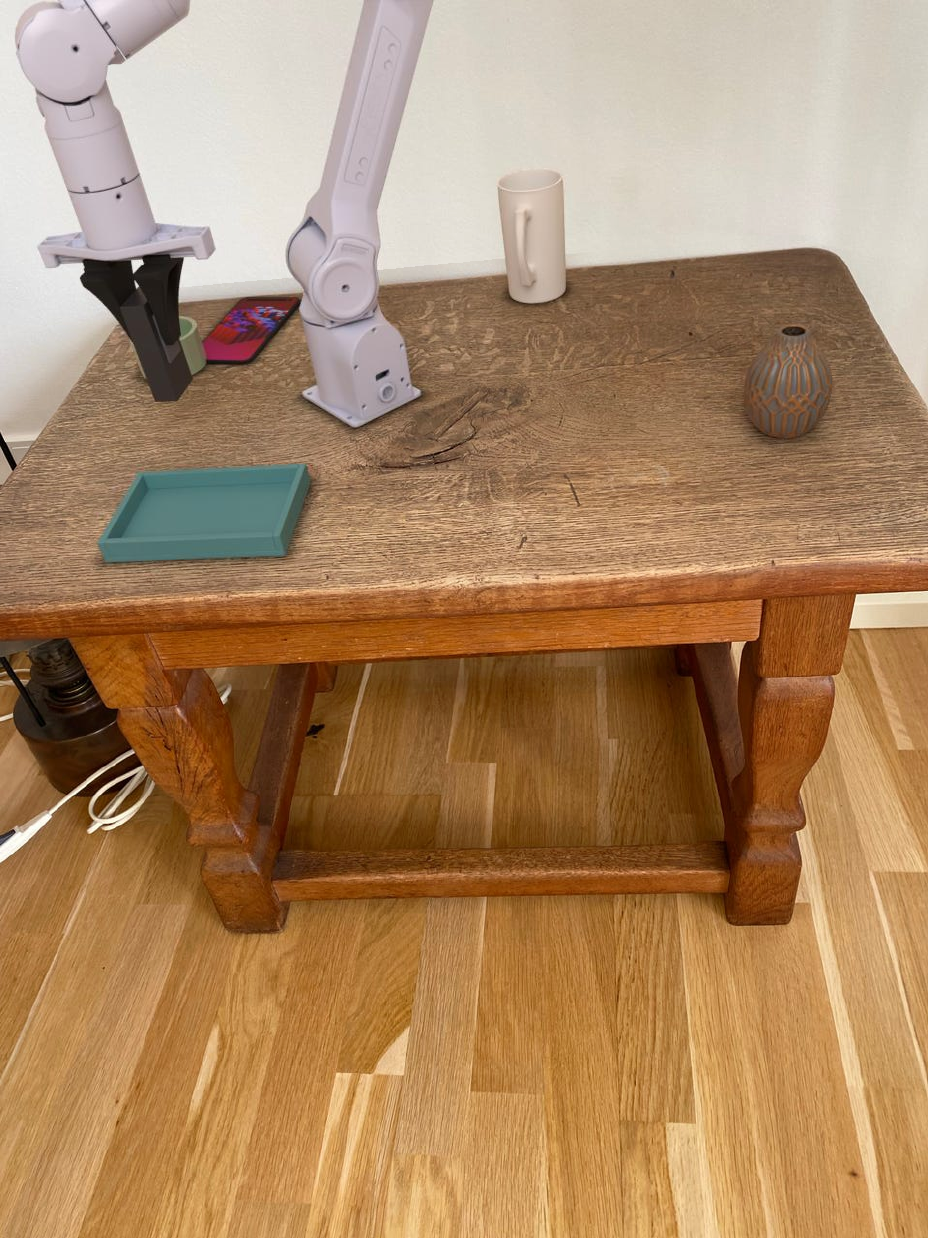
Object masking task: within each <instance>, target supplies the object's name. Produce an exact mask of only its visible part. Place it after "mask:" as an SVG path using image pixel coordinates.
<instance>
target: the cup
mask: <svg viewBox="0 0 928 1238" xmlns="http://www.w3.org/2000/svg"><path fill="white" fill-rule="evenodd" d="M179 322H180V331H181V336H180V337H179V339H180V342H181V345H182V348H183V351H184V354H185V357H186V360H187V363H188V366H189V369H190V372H191V374H192V376H193V375H195V374H197V373H199V372H200V371H202V369H204V368H205V366H206V365H207V364H206V358H207V356H206V352H205V348H204V345H203V339H202V336H201V332H200V330H199V326H198V324H197V321H196V320H195V319H193V318H192V317H189V316H183V315H179ZM129 343H130V346H131V349H132V351H133V354H134V357H135V360H136V364H137V365H138V368H139V371H140V373H141V375H142V377H143V378H144V379H145V380H147V379H146V376H145V374H144V371H143V368H142V365H141V363H140V360H139V357H138V355H137V352H136V349H135V347H134V345H133V343H132V341H131V340H130V339H129Z"/></svg>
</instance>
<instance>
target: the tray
mask: <svg viewBox="0 0 928 1238" xmlns="http://www.w3.org/2000/svg"><path fill="white" fill-rule="evenodd" d="M310 477H311V476H310V473H309V469H308V465H307V463H306V462H305V463H286V464H285V463H284V464H267V465H248V466H246V465H245V466H229V467H227V466H226V467H210V468H209V467H208V468H207V467H206V468H189V469H188V468H187V469H168V470H149V471H148V470H147V471H138V472H137V474H136V475H135V477H134V478H133V481H132V482H131V485H130V486H129V488H128V490H127V491H126V493H125V494H124V496H123V498H122V500H121V502H120V504H119V505H118V507H117V508H116V510H115V512H114V513H113V515H112V517H111V518H110V520H109V521H108V524H107V525H106V527H105V529H104V530H103V532H102V533H101V536H100V538H99V539H98V541H97V543H96V544H97V546H98V548H99V550H100V552H101V555H102V557H103V559H104V561H105V563H125V562H126V563H127V562H153V561H154V562H155V561H178V560H203V559H204V560H205V559H230V558H233V559H235V558H259V557H260V558H261V557H281V556H282V557H283V556H286V555H287V553H288V549H289V546H290V543H291V542H292V538H293V535H294V532H295V529H296V526H297V523H298V521H299V518H300V515H301V512H302V509H303V507H304V504H305V501H306V498H307V495H308V492H309V489H310V486H311V483H312V481H311V478H310Z"/></svg>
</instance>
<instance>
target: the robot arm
mask: <svg viewBox="0 0 928 1238" xmlns="http://www.w3.org/2000/svg"><path fill="white" fill-rule="evenodd" d="M434 1H435V0H363V3H362V8H361V12H360V15H359V21H358V24H357V25H358V26H357V29H356V33H355V36H354V41H353V45H352V50H351V55H350V57H349V63H348V66H347V71H346V75H345V79H344V83H343V87H342V91H341V96H340V100H339V105H338V108H337V111H336V112H337V113H336V117H335V120H334V125H333V129H332V134H331V138H330V142H329V147H328V150H327V155H326V159H325V163H324V166H323V172H322V176H321V180H320V185H319V187H318V189H317V190H316V192H314V194H313V195H312V196H311V198H310V199H309V200H308V202H307V203H306V207H305V211H304V215H303V218H302V220H301V221H300V223H299V225H298V226H297V227H296V228H295V230H294V231H293V232H292V233H291V235H290V236H289V238H288V241H287V243H286V247H285V254H284V255H285V263H286V266H287V269H288V271H289V273H290V275H291V277H292V278H294V280H295V281H296V282H297V283H299V285H300V286H301V287H302V289H303V293H302V298H301V301H300V303H301V304H300V306H299V307H298V308H299V309H298V310H299V314H300V319H301V323H302V326H303V331H304V336H305V339H306V344H307V348H308V352H309V356H310V361H311V365H312V369H313V373H314V378H315V383H316V384H315V385H312V386H311V387H308V388H307V389H304V390H303V391H302V392H301V394H302V397H303V398H304V399H306V400H307V401H310V402H311V403H313V404H315V405H316V406H317V407H319V408H321V409H322V410H324V411H325V412H327V413H329V414H330V415H332V416H334V417H336V418H337V419H338V420H340V421H342V422H343V423H345V424H347V425H349V426H350V427H352V428H356V429H357V428H359V427H361V426H363V425H366V424H367V423H369V422H371V421H373V420H375V419H377V418H379V417H381V416H384V415H385V414H387V413H389V412H391V411H393V410H395V409H397V408H399V407H402V406H403V405H406V404H407V403H409V402H411V401H413V400H415V399H417V398H419V397H421V395H422V391H421V389H419V388H417V387H415V386H414V385H412V384H413V383H412V378H411V373H410V367H409V361H408V354H407V349H406V342H405V340H404V338H403V337H404V336H403V335H402V333H401V332H400V331H399V329H398V328H396V326H394V325H392V324H391V323H390V322H389V321H388V320H387V318H385V315H384V314H383V312H382V310H381V307H380V304H379V298H378V295H379V293H380V292H379V291H380V277H379V272H378V257H379V253H380V249H381V235H380V234H381V233H380V227H379V219H378V209H379V205H380V201H381V198H382V194H383V191H384V188H385V187H384V186H385V184H386V183H385V182H386V179H387V175H388V171H389V167H390V164H391V160H392V157H393V153H394V149H395V145H396V141H397V138H398V134H399V131H400V127H401V124H402V120H403V116H404V112H405V108H406V105H407V101H408V98H409V93H410V89H411V86H412V82H413V80H414V79H413V78H414V74H415V71H416V67H417V63H418V61H419V56H420V53H421V52H420V51H421V49H422V46H423V42H424V37H425V34H426V30H427V27H428V23H429V19H430V15H431V12H432V8H433V5H434ZM190 6H191V0H57V1H55V0H54V1H53V0H52V1H40V2H37V3H34V4H32V5H31V6H29V7H28V8H26V9H25V10H24V11H23V13H22V14H21V15H20V16H19V18H18V21H17V24H16V27H15V32H14V33H15V34H14V41H15V49H16V52H15V54H16V57H17V60H18V63H19V64H20V68H21V70H22V72H23V74H24V77H26V79H27V80H28V81H29V83H30V84H31V85H32V86H33V87H34V91H35V95H36V96H35V102H36V105H37V108H38V110H39V113H40V114H41V116H42V118H44V120H45V122H44V131H45V134H46V136H47V139H48V141H49V144H50V147H51V150H52V152H53V155H54V158H55V161H56V164H57V166H58V169H59V172H60V174H61V177H62V180H63V183H64V186H65V189H66V191H67V193H68V196H69V198H70V202H71V204H72V206H73V209H74V213H75V215H76V218H77V220H78V223H79V226H80V229H81V231H78V232H72V233H66V234H60V235H49V236H46V237H45V238H44V239H43V240H42V241H41V242H40V243H38V244H37V245H36V246H37V249H38V252H39V254H40V257H41V259H42V262H43V264H44V267H45V268H46V269H55V268H58V267H60V266H61V265H70V264H72V265H73V264H82V265H83V273H82V274H81V275H80V276H79V281H80V283H81V285H82V287H83V288H84V289H86V290H87V291H88V292H89V293H91V294H92V295H93V296H94V297H95V298H97V300H98V301H99V302H101V303H102V304H103V306H104V307H105V309H107V310H108V311H109V312H110V314H112V316H113V317H114V318H115V320H116V322H118V324H119V325H120V327H121V328H122V330H123V331H124V332H125V334H126V336H127V337H128V338H129V341H130V340H131V341H132V339H131V336H130V333H129V331H128V328H127V325H126V323H125V320H124V317H123V315H122V312H121V309H120V306H121V305H122V304H123V303H124V302H125V301H126V300H127V299H128V298H129V296H130V295H131V294H132V293H133V292H134V291H135V290H136V289H137V286H138V287H140V289H141V290H142V292H143V294H144V295H145V297H146V299H147V301H148V303H149V305H150V307H151V309H152V311H153V314H154V317H155V320H156V323H157V326H158V329H159V332H160V335H161V337H162V339H163V340H164V342H165V344H166V345H174V344H175V342H176V341H177V340H178V338H179V337H180V336H181V331H180V322H179V316H180V308H179V307H180V306H179V304H180V303H179V297H180V285H181V284H180V283H181V276H182V270H183V266H184V261H185V258H194V257H195V259H196V260H198V261H199V260H200V261H201V260H209V258H210V257H211V256H212V255H213V254H214V252H215V251H216V245H215V242H214V238H213V235H212V231H211V227H210V226H190V225H189V226H188V225H179V224H170V223H162V222H161V223H160V222H159V223H158V222H156V220H155V217H154V214H153V210H152V207H151V204H150V202H149V198H148V194H147V192H146V189H145V185H144V181H143V179H142V176H141V173H140V170H139V167H138V164H137V160H136V158H135V154H134V152H133V148H132V145H131V142H130V139H129V137H128V132H127V130H126V127H125V126H126V125H125V123H124V120H123V117H122V113H121V111H120V109H118V107H117V106H115V104H114V101H113V97H112V94H111V91H110V88H109V85H108V82H107V75H108V68H109V66H112V65H122V64H124V63H125V62H126V60H129V59H130V58H132V57H133V56H135V55H136V54H138V52H140V51H141V50H143V49H145V47H147V46H148V45H150V44H151V43H153V42H154V41H155V40H156V39H158V38H159V37H161V36H162V35H163V34H165V33H166V32H167V31H169V30H170V29H172V28H173V27H174V26H176V25H177V24H179V23H180V22H181V21H183V20H184V19H185V18H187V17H188V16H189V13H190ZM132 261H142V262H143V264H140V266H138V268H136V270H135V271H134V269H133V263H132ZM132 343H133V341H132ZM133 345H134V344H133Z"/></svg>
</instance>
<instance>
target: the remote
mask: <svg viewBox="0 0 928 1238" xmlns="http://www.w3.org/2000/svg"><path fill="white" fill-rule="evenodd" d="M120 309H121V312H122V315H123V317H124V320H125V323H126V325H127V328H128V331H129V333H130V336H131V339H132V341H133V344H134V347H135V349H136V352H137V355H138V357H139V360H140V363H141V365H142V368H143V371H144V374H145V376H146V379H145V380H146V381H147V384H148V386H149V390H150V392H151V395H152V397H153V400H154V403H164V402H165V403H167V402H169V403H170V402H178V401H179V400H180V398H181V397H182V395H183V394H184V393H185V391H186V390H187V389H188V387H189V386H190V384H191V383H192V381H193V380H194V378H193V375H192V374H191V372H190V369H189V366H188V363H187V360H186V357H185V354H184V351H183V348H182V345H181V342H180V339H179V338H178V340H177V341H176V342H175V344H174V345H166V344H165V342H164V340H163V339H162V337H161V335H160V332H159V329H158V326H157V323H156V320H155V317H154V314H153V311H152V309H151V307H150V305H149V303H148V301H147V299H146V297H145V295H144V294H143V292H142V290H141V289H140V287H139V286H138V287H136V290H135V291H134V292H133V293H132V294H131V295H130V296H129V298H128V299H127V300H126V301H125V302H124V303H123V304H122V305H121V306H120Z"/></svg>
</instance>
